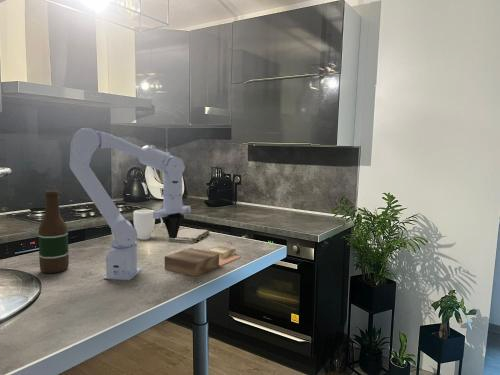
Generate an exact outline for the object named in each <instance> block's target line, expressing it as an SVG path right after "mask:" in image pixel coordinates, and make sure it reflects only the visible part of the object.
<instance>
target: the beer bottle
mask: <svg viewBox="0 0 500 375" xmlns="http://www.w3.org/2000/svg"><path fill="white" fill-rule="evenodd" d="M59 192H60V191H59V190H55V189H53V190H51V189H50V190H46V191H45V193H44V195H45V212H44V214H45V215H44V218H43V219H42V221H41V223H40V224H39V228H38V235H37V236H38V255H39V256H38V257H39V270H40V271H41V272H43V273H45V274H51V273H52V274H55V273H59V272H60V273H61V272H63V271H66V269H68V268H69V265H70V264H69V263H70V262H69V232H68V231H69V230H68V225H67V224H66V221H65V219H63V217H62V216H61V212H60V211H61V210H60V200H59V195H60V193H59Z"/></svg>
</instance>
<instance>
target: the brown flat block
mask: <svg viewBox="0 0 500 375" xmlns="http://www.w3.org/2000/svg"><path fill="white" fill-rule="evenodd" d="M219 267H220V266H219V254H216V253H211V252H208V251H206V250H201V249H198V248H197V249H196V248H192V247H190V248H186V249H184V250H180V251H177V252H173V253H171V254H167V255H165V256H164V270H168V271H171V272H174V273H178V274H182V275H185V276H189V277H193V278H195V277H198V276H199V275H202V274H204V273H206V272H209V271H212V270H213V269H216V268H219Z"/></svg>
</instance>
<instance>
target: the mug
mask: <svg viewBox="0 0 500 375" xmlns="http://www.w3.org/2000/svg"><path fill="white" fill-rule="evenodd" d="M154 211H155V210H153V209H146V208H145V209H136V210H134V211H133V214H132V215H133V227H134V228H135V229H136V231H137V239H139V240H142V241H143V240H149V239H150V238H151V236H152V234H153V233H155V232H157V231H158V230H159V229H160V228H161V227H162V226H163V224H164V222H163V220H162V217H161V218H159V219H160V225H159V226H158V227H157V228H156V229H155V230H154V227H155V222H156V218H153V212H154ZM153 230H154V231H153Z"/></svg>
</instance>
